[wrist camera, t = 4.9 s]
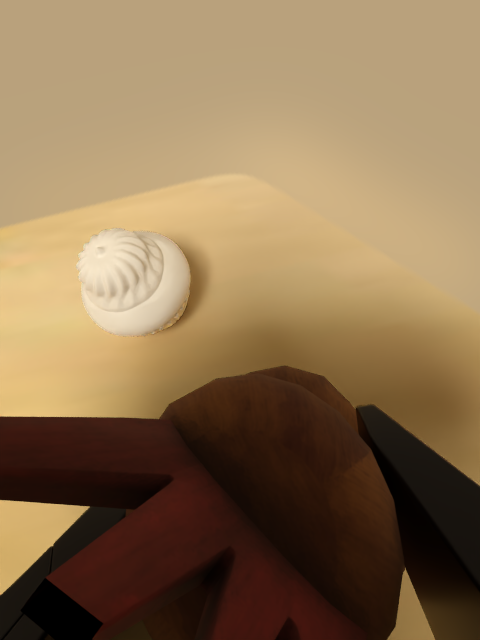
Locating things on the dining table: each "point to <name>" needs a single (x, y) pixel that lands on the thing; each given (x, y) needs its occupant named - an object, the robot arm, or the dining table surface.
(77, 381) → the dining table surface
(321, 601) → the wooden figurine
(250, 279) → the dining table surface
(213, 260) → the dining table surface
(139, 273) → the muffin
